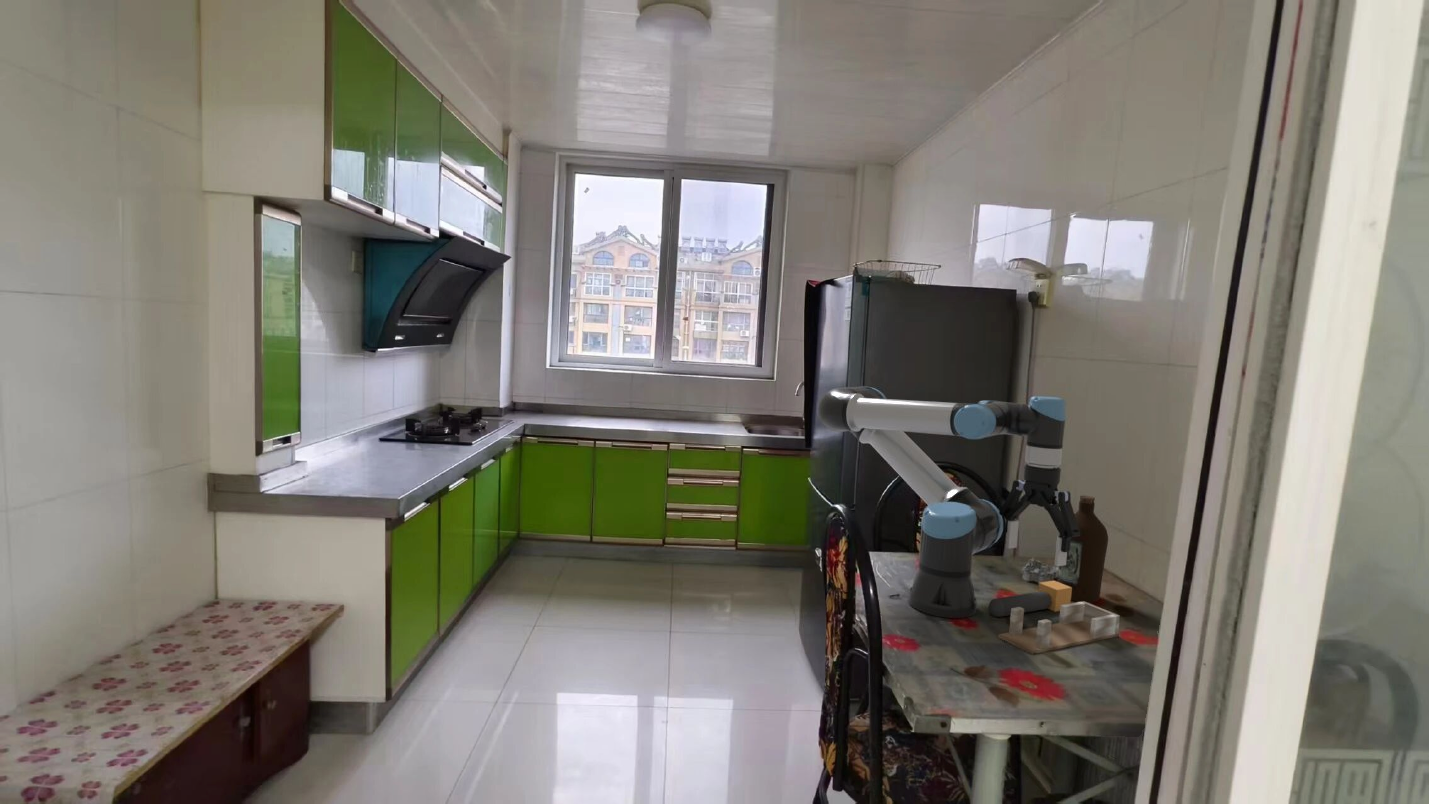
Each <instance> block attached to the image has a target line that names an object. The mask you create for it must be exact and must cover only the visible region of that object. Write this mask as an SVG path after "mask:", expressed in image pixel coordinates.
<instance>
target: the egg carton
mask: <svg viewBox="0 0 1429 804" xmlns="http://www.w3.org/2000/svg"><path fill="white" fill-rule="evenodd" d="M1021 573H1022V577H1021V578H1022V580H1024V581H1026V582H1036V583H1038V585H1039V583H1041V582H1047V581H1054V579H1057V578H1058V566H1055V565H1053V566H1051V565H1049V564H1046V566H1043V565H1042V562H1041V561H1040V560H1036V559H1035V557H1031V558H1030V559H1029V560H1028V562H1027V563H1026V564H1025V566H1023V567H1022V569H1021Z"/></svg>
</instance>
